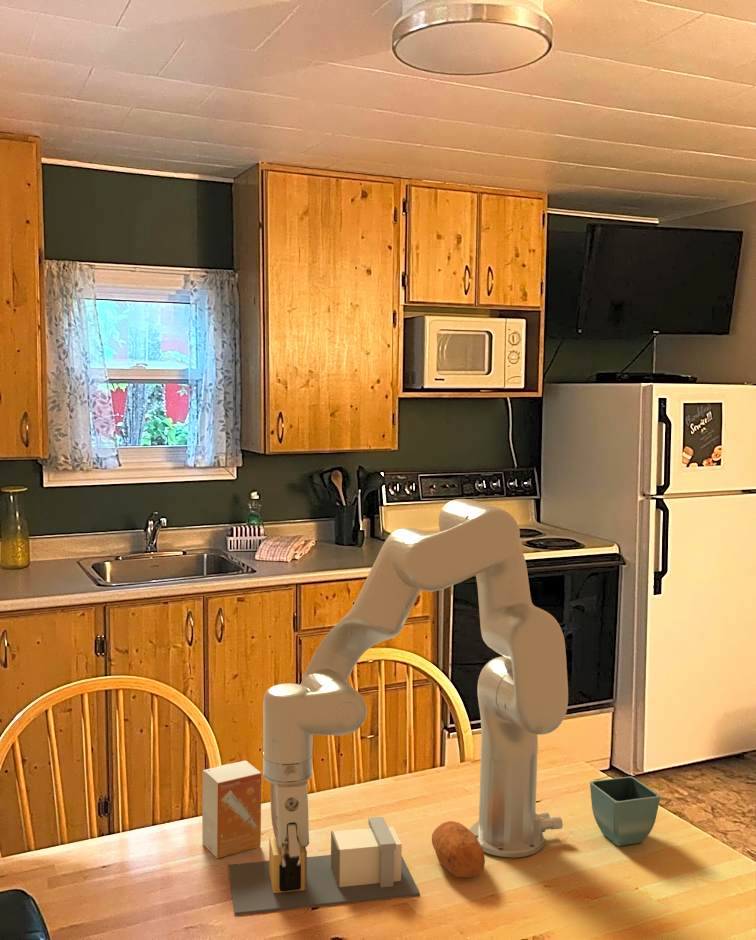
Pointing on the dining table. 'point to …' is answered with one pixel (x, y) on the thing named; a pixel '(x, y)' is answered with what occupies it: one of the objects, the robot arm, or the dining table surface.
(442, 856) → the potato
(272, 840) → the stub
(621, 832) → the flower pot
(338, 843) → the two-tone stepped block
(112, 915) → the dining table surface
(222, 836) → the small box
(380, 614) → the robot arm
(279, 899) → the mat
